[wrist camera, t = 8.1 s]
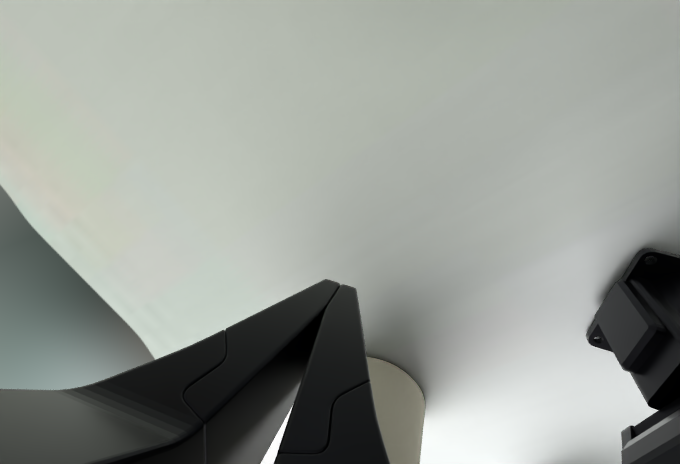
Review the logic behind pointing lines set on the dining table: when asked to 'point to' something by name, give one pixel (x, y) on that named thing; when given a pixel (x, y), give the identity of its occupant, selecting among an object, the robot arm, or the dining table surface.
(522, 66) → the dining table surface
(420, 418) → the travel mug
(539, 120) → the dining table surface
